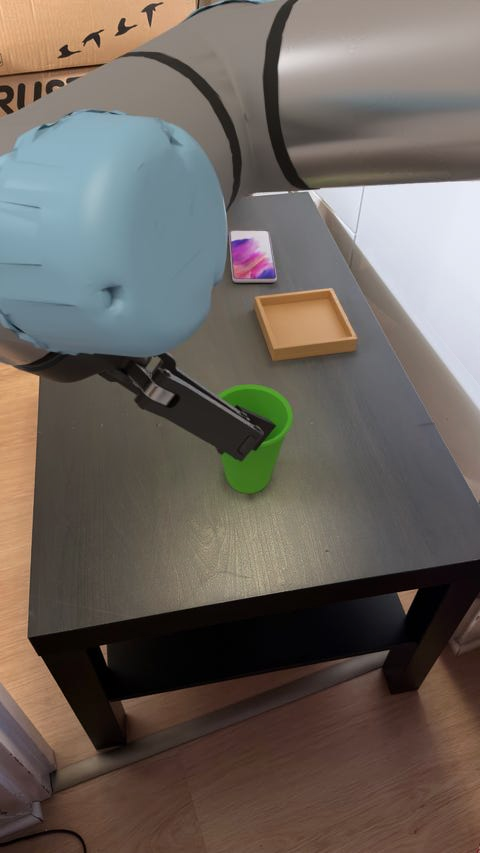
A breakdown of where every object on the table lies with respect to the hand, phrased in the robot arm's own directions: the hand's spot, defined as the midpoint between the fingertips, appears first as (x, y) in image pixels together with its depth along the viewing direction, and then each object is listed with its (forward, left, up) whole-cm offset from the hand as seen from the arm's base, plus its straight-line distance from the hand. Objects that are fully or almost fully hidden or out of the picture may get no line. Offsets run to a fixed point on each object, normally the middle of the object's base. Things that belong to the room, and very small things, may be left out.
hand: (209, 387), depth 54 cm
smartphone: (+37, -37, -21) cm, 57 cm away
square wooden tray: (+18, -31, -21) cm, 42 cm away
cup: (+2, -7, -21) cm, 22 cm away
